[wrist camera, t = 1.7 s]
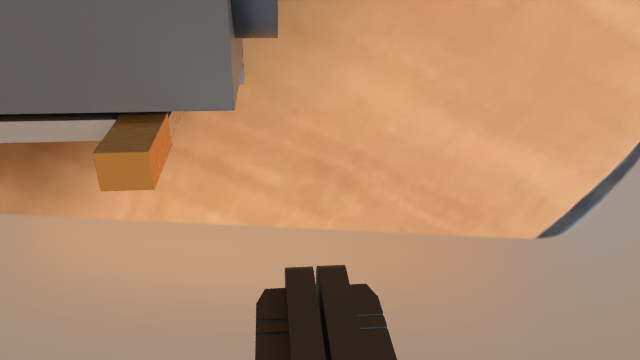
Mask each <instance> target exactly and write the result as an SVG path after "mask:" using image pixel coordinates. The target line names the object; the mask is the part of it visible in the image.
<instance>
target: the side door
mask: <svg viewBox="0 0 640 360" xmlns="http://www.w3.org/2000/svg"><path fill="white" fill-rule="evenodd" d="M182 112H183V111H169V112H108V113H48V114H0V143H29V142H75V141H101V142H100V144H99V145H98V146H97V148H96V149H95V151H94V152H93V157H94V162H95V166H96V171H97V176H98V181H99V185H100V190H101V191H124V190H154V189H155V187H156V184H157V182H158V179H159V177H160V174H161V172H162V169H163V167H164V164H165V162H166V159H167V157H168V154H169V152H170V149H171V146H172V142H171V139H172V136H173V134H174V131H175V129H176V126H177V124H178V122H179V119H180V117H181V114H182Z"/></svg>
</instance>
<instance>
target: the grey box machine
mask: <svg viewBox="0 0 640 360" xmlns="http://www.w3.org/2000/svg"><path fill="white" fill-rule="evenodd" d="M277 37H278V5H277V0H0V114H48V113H108V112H169V111H229V110H235V104H236V97H237V91H238V84H244V64H242V57H243V44H242V38H277Z"/></svg>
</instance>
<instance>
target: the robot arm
mask: <svg viewBox="0 0 640 360" xmlns="http://www.w3.org/2000/svg"><path fill="white" fill-rule="evenodd" d="M255 360H397V358H396V355H395V352H394V348H393V345H392V342H391V338H390V335H389V332H388V329H387V325H386V321H385V318H384V316H383V311H382V308H381V305H380V301H379V298H378V296H377V295H376V294H375V293H374V292H373V291H372V290H371V289H370V287H369V286H368V285H367V284H353V285H350V284H349V280H348V276H347V271H346V267H345V265H332V266H317V269H316V284H315V277H314V271H313V267H291V268H285V288H277V289H276V288H275V289H265V290H264V292H263V294H262V295H261V297H260V298H259V300H258V302H257V304H256V354H255Z"/></svg>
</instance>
